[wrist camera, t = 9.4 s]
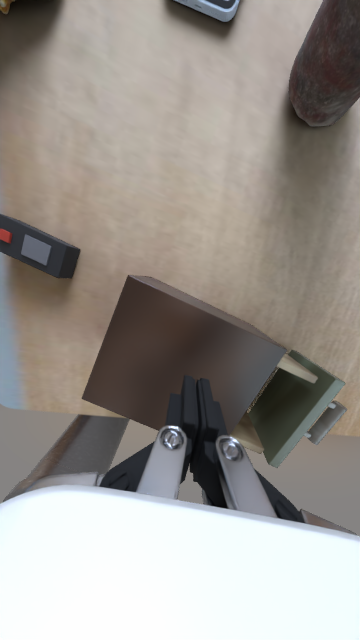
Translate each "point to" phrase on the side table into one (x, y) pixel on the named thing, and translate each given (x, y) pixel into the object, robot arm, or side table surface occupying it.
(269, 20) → the side table surface
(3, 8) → the seashell
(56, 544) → the robot arm
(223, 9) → the smartphone
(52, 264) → the remote
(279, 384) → the drawer
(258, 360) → the cabinet
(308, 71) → the candle
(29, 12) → the side table surface
